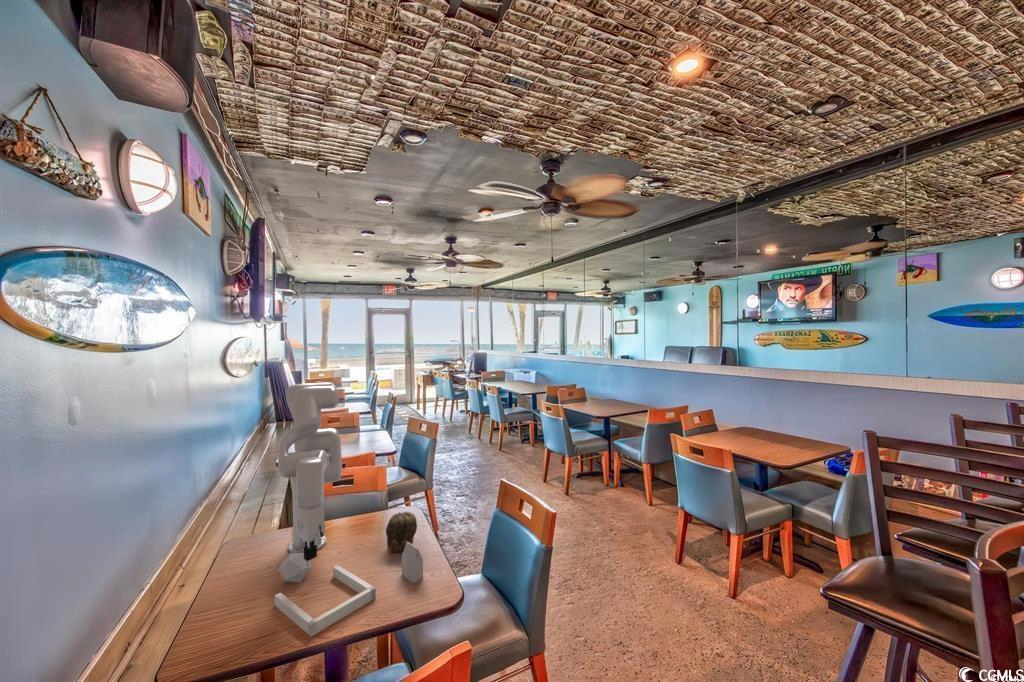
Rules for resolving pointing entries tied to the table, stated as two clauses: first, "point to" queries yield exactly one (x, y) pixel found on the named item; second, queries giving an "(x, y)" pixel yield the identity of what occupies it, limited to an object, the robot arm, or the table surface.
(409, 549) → the grey faceted angular block
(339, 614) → the bay
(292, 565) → the die
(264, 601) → the table surface
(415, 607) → the table surface
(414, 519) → the shell
